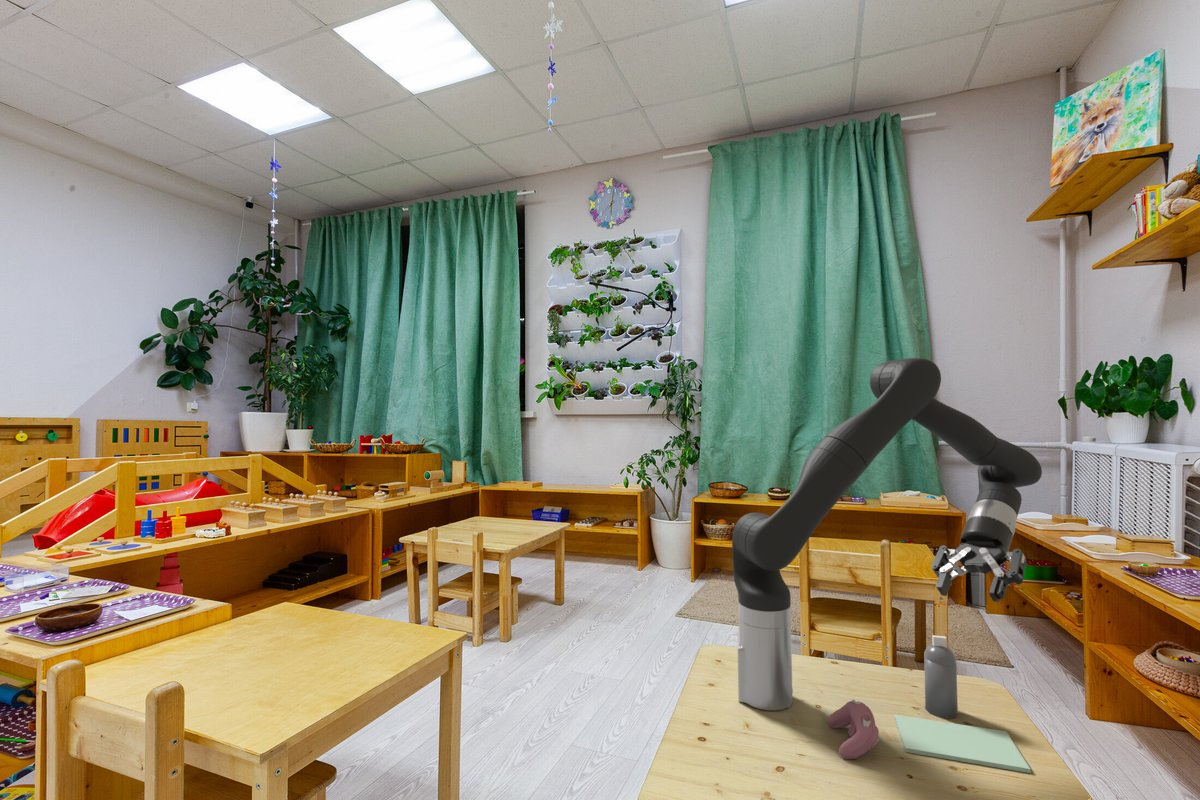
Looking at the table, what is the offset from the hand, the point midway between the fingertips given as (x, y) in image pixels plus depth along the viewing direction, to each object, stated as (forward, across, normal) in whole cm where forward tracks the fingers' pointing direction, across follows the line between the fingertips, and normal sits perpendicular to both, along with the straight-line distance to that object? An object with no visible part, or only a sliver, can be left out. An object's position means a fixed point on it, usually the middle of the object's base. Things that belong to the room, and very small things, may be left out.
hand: (966, 595), depth 98 cm
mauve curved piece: (+33, -8, -2) cm, 34 cm away
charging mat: (+23, +1, +7) cm, 24 cm away
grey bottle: (+16, -5, +12) cm, 20 cm away
